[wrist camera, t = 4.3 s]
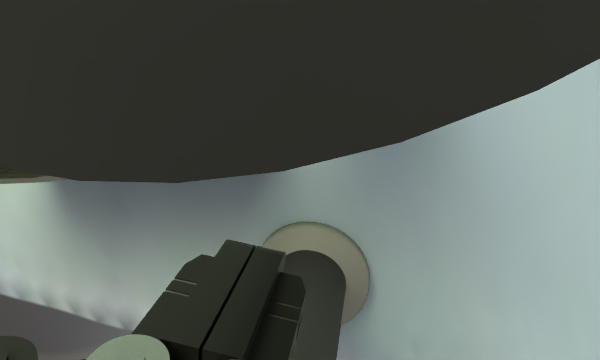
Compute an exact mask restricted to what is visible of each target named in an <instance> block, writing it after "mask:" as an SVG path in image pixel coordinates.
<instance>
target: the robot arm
mask: <svg viewBox="0 0 600 360" xmlns="http://www.w3.org/2000/svg"><path fill="white" fill-rule="evenodd" d="M285 258H286V252H283V251H278V250H273V249H269V248H264V247H260V246H257V247H256V246H255V245H250V244H246V243H241V242H237V241H232V240H226V241H225V243H224V244H223V246H222V247H221V249H220V250H219V252H218V253H217V254H216V256H215V257H211V256H207V255H203V254H202V255H200V256H198V257H197V258H195V259H193V260H191V261H190V262H188V263H186V264H185V265H184V266H183V268H182V269H181V270H180V271H179V273H178V274H177V275H176V277H175V279H174V280H173V281H172V282H171V283H170V284H169V286H168V287H167V288H166V291H165V292H163V293H162V295H161V296H160V297H159V299H158V300H157V301H156V303H155V304H154V305H153V306H152V308H151V309H150V310H149V312H148V313H147V314H146V316H145V317H144V318H143V319H142V321H141V322H140V323H139V325H138V326H137V327H136V329H135V330H134V331H133V332H132V334H131V335H125V336H121V337H117V338H115V339H112V340H110V341H108V342H106V343H104V344H103V345H101V346H100V347H99V348H97V349H96V350H95V351H94V352H93V353H92V354H91V355H90V356H89V357H88V358H87V359H83V360H292V359H293V355H294V351H295V347H296V343H297V339H298V334H299V328H300V323H301V317H302V312H303V306H304V301H305V295H306V290H305V287H304V284H303V281H302V278H301V276H296V275H292V274H287V273H283V272H284V265H285ZM0 360H38V354H37V349H36V347H35V346H34V344H32V343H31V342H30V341H28V340H27V339H24V338H21V337H16V336H0Z"/></svg>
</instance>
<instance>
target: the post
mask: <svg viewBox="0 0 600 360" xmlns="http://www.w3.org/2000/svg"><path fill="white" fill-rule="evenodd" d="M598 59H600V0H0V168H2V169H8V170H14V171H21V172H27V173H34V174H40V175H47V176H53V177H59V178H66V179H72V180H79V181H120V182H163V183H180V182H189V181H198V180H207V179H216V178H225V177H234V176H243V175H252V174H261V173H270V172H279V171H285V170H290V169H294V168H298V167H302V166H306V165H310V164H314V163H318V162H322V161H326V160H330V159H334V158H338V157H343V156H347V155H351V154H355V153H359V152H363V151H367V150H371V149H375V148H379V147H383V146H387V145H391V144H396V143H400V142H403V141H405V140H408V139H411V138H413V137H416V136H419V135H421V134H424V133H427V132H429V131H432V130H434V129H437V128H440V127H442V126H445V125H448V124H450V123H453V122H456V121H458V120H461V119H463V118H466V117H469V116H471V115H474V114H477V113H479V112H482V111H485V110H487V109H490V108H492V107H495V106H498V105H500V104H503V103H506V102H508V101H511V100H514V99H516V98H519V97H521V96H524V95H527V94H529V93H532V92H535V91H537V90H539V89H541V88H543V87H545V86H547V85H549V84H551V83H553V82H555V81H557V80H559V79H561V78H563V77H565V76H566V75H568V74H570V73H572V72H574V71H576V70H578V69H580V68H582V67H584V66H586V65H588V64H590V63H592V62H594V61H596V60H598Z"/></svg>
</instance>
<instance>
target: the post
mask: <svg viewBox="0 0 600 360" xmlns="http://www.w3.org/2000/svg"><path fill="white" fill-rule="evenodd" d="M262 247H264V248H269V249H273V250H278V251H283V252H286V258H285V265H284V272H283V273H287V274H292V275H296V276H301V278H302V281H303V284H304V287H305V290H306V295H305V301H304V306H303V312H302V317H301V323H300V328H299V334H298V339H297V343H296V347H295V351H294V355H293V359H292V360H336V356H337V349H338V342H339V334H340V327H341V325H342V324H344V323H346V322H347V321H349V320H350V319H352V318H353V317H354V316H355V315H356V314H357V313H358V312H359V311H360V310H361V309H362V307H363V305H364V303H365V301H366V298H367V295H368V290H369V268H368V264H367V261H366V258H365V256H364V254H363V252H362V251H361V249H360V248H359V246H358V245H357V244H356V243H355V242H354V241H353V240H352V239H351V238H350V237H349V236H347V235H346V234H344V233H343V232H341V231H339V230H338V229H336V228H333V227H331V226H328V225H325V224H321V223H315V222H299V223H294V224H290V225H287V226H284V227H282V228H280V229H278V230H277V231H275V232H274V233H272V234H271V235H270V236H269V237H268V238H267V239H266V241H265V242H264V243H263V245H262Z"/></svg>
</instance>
